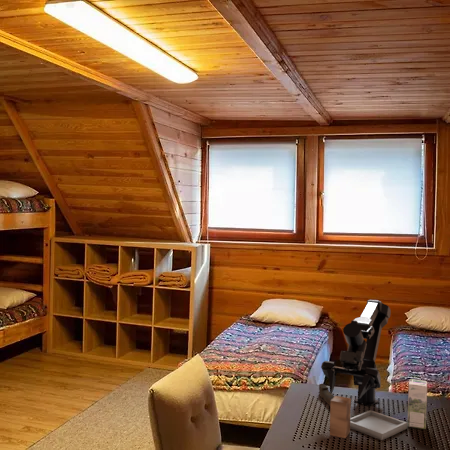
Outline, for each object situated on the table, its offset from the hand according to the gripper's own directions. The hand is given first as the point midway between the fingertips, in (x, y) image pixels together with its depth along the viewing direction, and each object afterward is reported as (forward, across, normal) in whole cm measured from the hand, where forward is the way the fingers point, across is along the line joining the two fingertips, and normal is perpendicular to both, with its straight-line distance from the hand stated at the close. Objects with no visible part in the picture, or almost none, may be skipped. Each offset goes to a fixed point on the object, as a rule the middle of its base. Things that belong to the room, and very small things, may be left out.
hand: (344, 395), depth 184 cm
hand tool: (-6, -13, +22) cm, 26 cm away
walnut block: (+11, 0, +5) cm, 12 cm away
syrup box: (-3, +20, +19) cm, 27 cm away
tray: (+3, +9, +12) cm, 15 cm away
